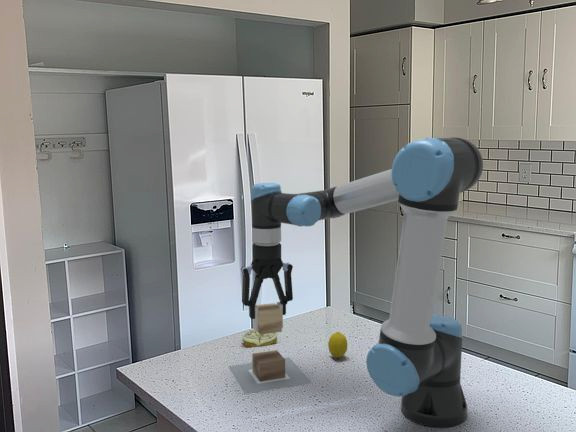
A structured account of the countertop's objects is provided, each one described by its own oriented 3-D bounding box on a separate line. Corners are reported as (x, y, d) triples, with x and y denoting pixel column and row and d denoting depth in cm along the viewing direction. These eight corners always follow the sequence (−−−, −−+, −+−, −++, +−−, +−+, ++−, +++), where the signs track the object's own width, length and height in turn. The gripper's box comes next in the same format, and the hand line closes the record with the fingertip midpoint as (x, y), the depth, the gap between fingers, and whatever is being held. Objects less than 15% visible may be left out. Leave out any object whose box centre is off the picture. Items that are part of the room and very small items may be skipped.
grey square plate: (312, 387, 149) (312, 382, 149) (245, 398, 143) (245, 394, 143) (289, 361, 166) (289, 357, 166) (228, 370, 160) (228, 366, 160)
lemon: (347, 354, 170) (347, 328, 169) (347, 362, 165) (347, 335, 163) (328, 354, 171) (328, 328, 169) (328, 361, 165) (328, 335, 164)
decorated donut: (235, 345, 179) (235, 333, 178) (259, 335, 187) (259, 324, 186) (260, 353, 172) (260, 341, 172) (283, 343, 180) (283, 331, 180)
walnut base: (285, 377, 152) (285, 359, 151) (260, 381, 150) (259, 363, 149) (277, 367, 159) (276, 350, 158) (252, 371, 156) (252, 353, 156)
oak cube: (281, 331, 151) (281, 309, 150) (259, 334, 149) (259, 312, 148) (275, 324, 156) (274, 303, 155) (253, 326, 155) (253, 305, 154)
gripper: (296, 237, 155) (296, 319, 159) (227, 242, 149) (229, 328, 153) (306, 242, 148) (306, 328, 152) (234, 248, 142) (236, 337, 146)
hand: (267, 328), depth 152 cm, fingers closed on oak cube, 6 cm apart
